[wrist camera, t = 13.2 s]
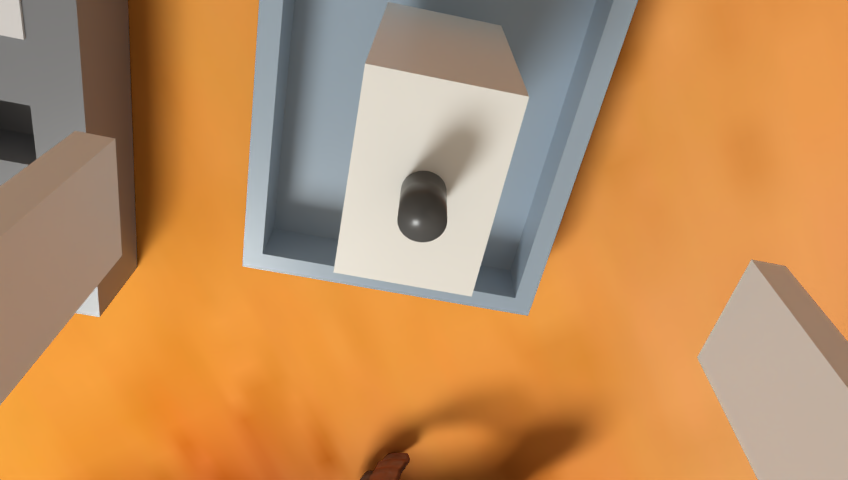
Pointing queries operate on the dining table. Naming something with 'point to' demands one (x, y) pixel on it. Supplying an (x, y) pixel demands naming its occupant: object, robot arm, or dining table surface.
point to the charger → (429, 150)
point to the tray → (336, 120)
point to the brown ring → (388, 467)
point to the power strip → (70, 99)
